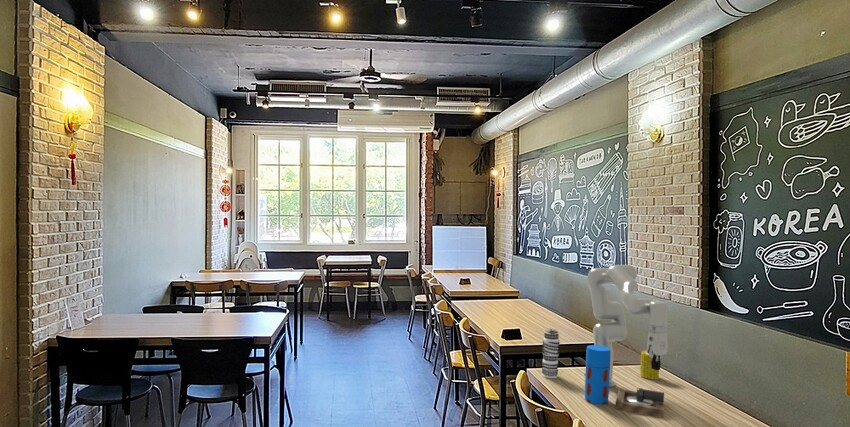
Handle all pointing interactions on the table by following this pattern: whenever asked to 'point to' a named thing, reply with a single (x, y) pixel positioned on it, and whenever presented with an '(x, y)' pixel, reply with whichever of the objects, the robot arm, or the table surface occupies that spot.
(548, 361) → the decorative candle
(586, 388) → the thermos
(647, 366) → the food
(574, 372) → the table surface
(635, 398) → the dial
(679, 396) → the table surface
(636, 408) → the wooden frame
